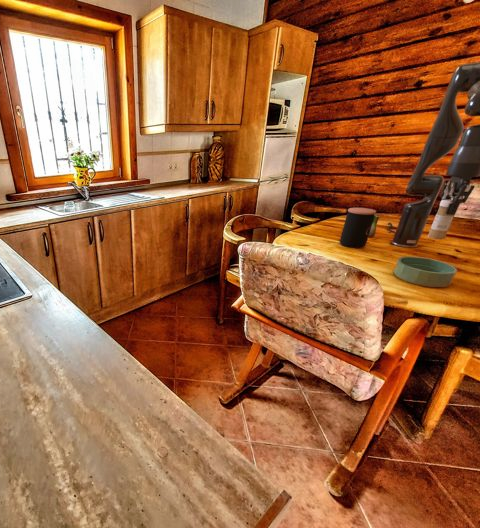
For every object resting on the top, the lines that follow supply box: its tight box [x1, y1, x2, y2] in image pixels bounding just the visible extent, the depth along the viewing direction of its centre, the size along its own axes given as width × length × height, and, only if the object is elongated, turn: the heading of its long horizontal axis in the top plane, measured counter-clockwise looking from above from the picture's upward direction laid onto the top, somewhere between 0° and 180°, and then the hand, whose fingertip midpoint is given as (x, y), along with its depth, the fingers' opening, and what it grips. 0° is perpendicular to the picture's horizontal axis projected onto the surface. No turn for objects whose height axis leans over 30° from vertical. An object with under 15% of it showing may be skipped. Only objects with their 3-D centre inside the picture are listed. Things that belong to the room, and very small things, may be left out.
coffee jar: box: [339, 207, 377, 249], centre depth 137 cm, size 11×11×18 cm
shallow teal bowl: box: [392, 256, 458, 288], centre depth 105 cm, size 16×16×6 cm
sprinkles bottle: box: [427, 199, 461, 240], centre depth 97 cm, size 5×5×14 cm
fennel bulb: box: [368, 214, 380, 238], centre depth 148 cm, size 6×5×12 cm
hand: (446, 212), depth 96 cm, fingers closed on sprinkles bottle, 4 cm apart
